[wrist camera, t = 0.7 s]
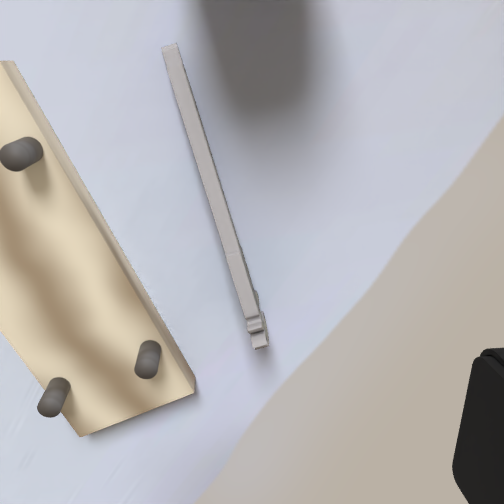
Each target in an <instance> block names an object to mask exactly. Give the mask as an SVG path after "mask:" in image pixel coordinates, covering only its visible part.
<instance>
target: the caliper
mask: <svg viewBox="0 0 504 504" xmlns="http://www.w3.org/2000/svg"><path fill="white" fill-rule="evenodd" d="M161 49H162V53H163V56H164V59H165V62H166V65H167V71H168V74H169V77H170V81H171V84H172V87H173V90H174V93H175V96H176V100H177V103H178V106H179V109H180V112H181V115H182V118H183V122H184V125H185V128H186V131H187V134H188V137H189V141H190V144H191V147H192V150H193V153H194V156H195V159H196V163H197V166H198V169H199V172H200V175H201V178H202V181H203V185H204V188H205V191H206V194H207V197H208V200H209V203H210V207H211V210H212V213H213V216H214V219H215V222H216V225H217V229H218V232H219V235H220V238H221V241H222V244H223V247H224V251H225V254H226V259H227V262H228V265H229V269H230V272H231V275H232V278H233V281H234V284H235V288H236V291H237V294H238V297H239V300H240V303H241V307H242V310H243V313H244V316H245V319H246V320H247V324H248V326H247V331H248V333H249V334H250V333H251V341H252V346H253V348H255V350H257V349H260V348H264V347H267V346H269V337H268V332H267V326H266V321H265V317H264V313H263V311H261V312H260V309H259V299H258V294H257V291H255V290H254V288H253V285H252V282H251V278H250V275H249V271H248V268H247V265H246V262H245V258H244V255H243V252H242V248H241V246H240V244H239V241H238V238H237V235H236V231H235V228H234V225H233V222H232V219H231V215H230V212H229V209H228V206H227V202H226V199H225V196H224V193H223V190H222V186H221V183H220V180H219V177H218V173H217V170H216V167H215V164H214V161H213V157H212V154H211V151H210V148H209V144H208V141H207V138H206V135H205V131H204V128H203V125H202V122H201V119H200V115H199V112H198V109H197V106H196V102H195V99H194V96H193V93H192V90H191V86H190V83H189V80H188V77H187V74H186V71H185V68H184V65H183V62H182V59H181V56H180V52H179V49H178V46H177V43H174V44H171V45H168V46H165V47H162V48H161Z"/></svg>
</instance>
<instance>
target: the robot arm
mask: <svg viewBox="0 0 504 504" xmlns="http://www.w3.org/2000/svg"><path fill="white" fill-rule="evenodd" d="M452 468H453V469H452V470H453V475H454V479H455V481H456V483H457V485H458V487H459V489H460V490H461V492H462V493H463V495H464V496H465V498H466V500H467V501H468V503H469V504H504V348H491V349H485V350H483V352H482V353H481V355H480V357H477V358H475V360H474V361H473V364H472V369H471V374H470V379H469V384H468V389H467V394H466V399H465V404H464V409H463V414H462V419H461V424H460V429H459V434H458V438H457V443H456V448H455V453H454V459H453V465H452Z"/></svg>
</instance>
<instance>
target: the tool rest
mask: <svg viewBox="0 0 504 504" xmlns="http://www.w3.org/2000/svg"><path fill="white" fill-rule="evenodd" d="M0 331H1V332H2V334H3V335H4V336H5V338H6V339H7V340H8V342H9V343H10V344H11V346H12V347H13V348H14V350H15V351H16V352H17V354H18V355H19V356H20V358H21V359H22V360H23V362H24V363H25V364H26V366H27V367H28V368H29V370H30V371H31V372H32V374H33V375H34V376H35V378H36V379H37V380H38V382H39V383H40V385H41V386H42V387H43V389H44V390H45V392H44V394H43V396H42V398H41V399H40V401H39V403H38V406H37V409H38V412H39V413H40V414H41V415H43V416H45V417H55V416H57V415H58V414H59V413H60V411H61V413H62V414H63V415H64V417H65V418H66V419H67V421H68V422H69V423H70V425H71V426H72V427H73V429H74V430H75V431H76V433H77V434H78V435H79V437H83V436H85V435H88V434H90V433H93V432H95V431H98V430H101V429H103V428H106V427H108V426H111V425H113V424H116V423H118V422H121V421H124V420H126V419H129V418H131V417H134V416H136V415H139V414H141V413H144V412H147V411H149V410H152V409H154V408H157V407H159V406H162V405H164V404H167V403H170V402H172V401H175V400H177V399H180V398H182V397H185V396H187V395H190V394H193V393H194V389H195V376H194V374H193V372H192V370H191V369H190V367H189V365H188V363H187V362H186V360H185V358H184V357H183V355H182V353H181V351H180V350H179V348H178V346H177V344H176V343H175V341H174V339H173V337H172V336H171V334H170V332H169V330H168V329H167V327H166V325H165V324H164V322H163V320H162V318H161V317H160V315H159V313H158V311H157V310H156V308H155V306H154V304H153V303H152V301H151V299H150V297H149V296H148V294H147V292H146V291H145V289H144V287H143V285H142V284H141V282H140V280H139V278H138V277H137V275H136V273H135V271H134V270H133V268H132V266H131V264H130V263H129V261H128V259H127V258H126V256H125V254H124V252H123V251H122V249H121V247H120V245H119V244H118V242H117V240H116V238H115V237H114V235H113V233H112V231H111V230H110V228H109V226H108V225H107V223H106V221H105V219H104V218H103V216H102V214H101V212H100V211H99V209H98V207H97V205H96V204H95V202H94V200H93V198H92V197H91V195H90V193H89V192H88V190H87V188H86V186H85V185H84V183H83V181H82V179H81V178H80V176H79V174H78V172H77V171H76V169H75V167H74V165H73V164H72V162H71V160H70V159H69V157H68V155H67V153H66V152H65V150H64V148H63V146H62V145H61V143H60V141H59V139H58V138H57V136H56V134H55V132H54V131H53V129H52V127H51V126H50V124H49V122H48V120H47V119H46V117H45V115H44V113H43V112H42V110H41V108H40V106H39V105H38V103H37V101H36V99H35V98H34V96H33V94H32V93H31V91H30V89H29V87H28V86H27V84H26V82H25V80H24V79H23V77H22V75H21V73H20V72H19V70H18V68H17V66H16V65H15V63H14V61H0Z"/></svg>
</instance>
